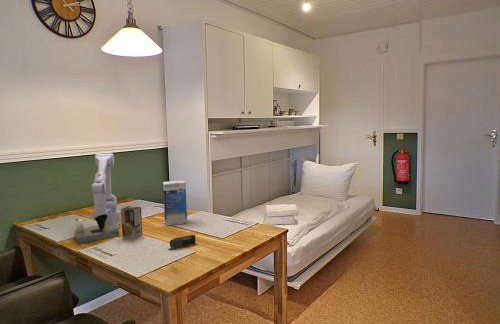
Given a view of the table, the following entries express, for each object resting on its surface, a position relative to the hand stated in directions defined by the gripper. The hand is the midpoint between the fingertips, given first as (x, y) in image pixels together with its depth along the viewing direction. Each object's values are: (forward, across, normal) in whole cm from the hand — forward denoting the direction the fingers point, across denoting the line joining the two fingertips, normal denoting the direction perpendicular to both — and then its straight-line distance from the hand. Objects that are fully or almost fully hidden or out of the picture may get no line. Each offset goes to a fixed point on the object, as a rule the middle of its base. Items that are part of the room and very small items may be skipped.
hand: (101, 228), depth 189 cm
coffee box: (+5, -5, +16) cm, 17 cm away
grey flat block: (+5, 0, -3) cm, 6 cm away
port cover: (+1, -5, +2) cm, 6 cm away
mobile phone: (+5, +1, +50) cm, 50 cm away
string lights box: (+5, -33, +27) cm, 43 cm away
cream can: (+1, +3, -12) cm, 12 cm away
